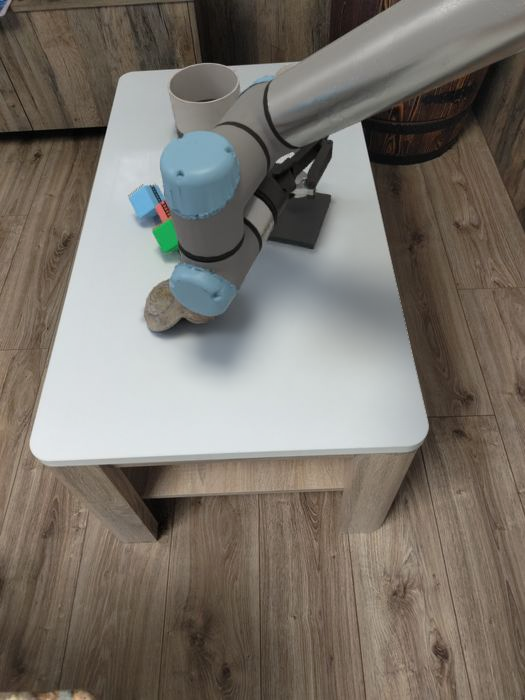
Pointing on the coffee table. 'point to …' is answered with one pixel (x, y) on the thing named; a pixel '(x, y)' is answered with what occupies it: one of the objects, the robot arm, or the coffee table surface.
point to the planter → (202, 96)
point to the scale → (301, 221)
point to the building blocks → (149, 205)
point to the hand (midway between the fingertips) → (310, 111)
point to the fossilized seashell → (168, 309)
